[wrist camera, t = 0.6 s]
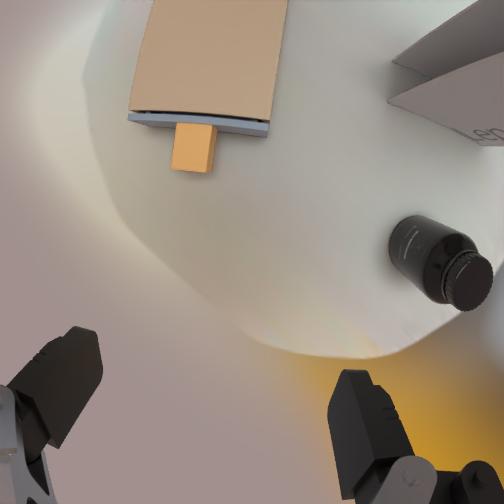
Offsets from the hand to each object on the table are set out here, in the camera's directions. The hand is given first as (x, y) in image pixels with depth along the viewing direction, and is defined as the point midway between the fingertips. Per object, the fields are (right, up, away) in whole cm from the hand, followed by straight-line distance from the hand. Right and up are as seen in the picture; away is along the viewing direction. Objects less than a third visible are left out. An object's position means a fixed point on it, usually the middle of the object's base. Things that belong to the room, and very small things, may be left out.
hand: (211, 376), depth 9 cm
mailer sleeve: (-2, +24, +17) cm, 30 cm away
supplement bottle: (+19, +5, +22) cm, 30 cm away
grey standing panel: (+23, +21, +17) cm, 35 cm away
